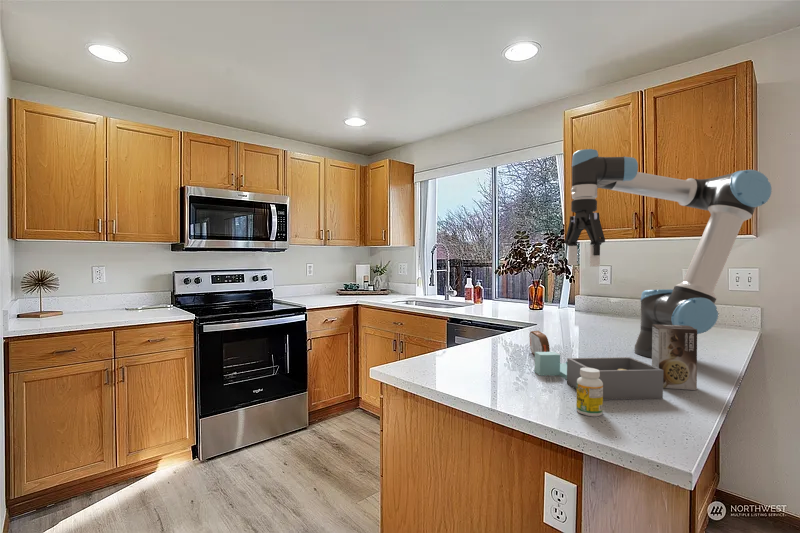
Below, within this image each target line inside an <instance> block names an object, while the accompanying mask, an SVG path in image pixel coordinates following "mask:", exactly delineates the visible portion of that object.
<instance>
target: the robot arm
mask: <svg viewBox="0 0 800 533" xmlns="http://www.w3.org/2000/svg"><path fill="white" fill-rule="evenodd" d="M638 170H639V162H638V160H637V159H636V158H635V157H632V156H631V157H630V156H599V152H598V149H597V150H596V149H592V148H585V149H579V150H576V151H574V153H573V154H572V158H571V189H570V192H571V199H572V201H571V205H570V206H571V207H570V208H571V209H570V211H571V213H575V215H571V216H569V224H568V228H567V232H566V235H565V236H566V237H565V239H564V244H565V245H567V247H568V249H567V250H568V254H567V255H568V257H567V258H568V260H567V264H568V266H578V243H577V242H578V241H579V238H580V236H581V234H582V232H583V230H585V231H586V234H587V236H588V238H589V240H590V244H589V267H600V265H601V262H600V261H601V259H600V258H601V257H600V256H601V245H602V244H604V243H605V242H606V238H605V234H604V231H603V230H604V229H603V227H602V223H601V219H600V218H601V217H600V216H601V215H600V212H596V211H598V200H597V198H598V189H604V190H610V191H616V192H621V193H626V194H627V193H628V194H630V195H631V194H632V195H638V196H644V197H649V198H655V199H660V200H666V201H671V202H675V203H676V202H677V203H678V205H679V206H682V207H687V208H693V209H698V210H703V211H708V212H709V214H710V217H709V218H708V221H707V223H706V225H705V228H704V230H703V233H702V236H701V237H700V240H699V242H698V245H697V246H696V249H695V252H694V253H693V256H692V259H691V261H690V264H689V265H688V268H687V270H686V273H685V275H684V277H683V279H682V281H681V282H679V283H677V284H675V285H674V287H673V288H669V289H664V288H663V289H660V288H659V289H645V290H643V291H642V292H641V296H640V330H639V334H638V336H637V339H636V342H635V344H634V350H633V351H634V353H635V354H637V355H640V356H643V357H647V358H652V324H657V325H685V326H691V327H693V328H694V329H697V335H699V334H703V333H706V332H709V330H711V329H712V328H713V327H715V325H716V323H717V321H718V318H719V311H718V310H717V309H718V307H717V305H716V304H715V303H716V301H717V297H716V295H715V293H714V291H715V288H716V286H717V283H718V281H719V279H720V277H721V274H722V272H723V269H724V268H725V266H726V262H727V260H728V259H729V256H730V253H731V251H732V248H733V247H734V244H735V241H736V240H737V237H738V235H739V232H740V229H741V228H742V225H743V224H744V222H746V221H747V220H750V219H752V217H753V214H754V212H755V210H756V208H758V207H760V206H763V205H764V204H766V203H767V202H768V201H769V200H770V198H771V195H772V192H773V191H772V184H771V182H770V181H769V178H768V176H766V174H764V173H763V172H761V171H758V170H755V169H746V170H744V169H743V170H737V171H735V172H732V173H728V174H724V175H719V176H714V177H710V178H703V179H701V178H699V179H698V178H693V177H690V178H689V177H688V178H687V179H679V178H674V177H669V176H662V175H658V174H657V175H656V174H652V173H646V172H640V171H638Z"/></svg>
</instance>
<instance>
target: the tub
mask: <svg viewBox="0 0 800 533" xmlns="http://www.w3.org/2000/svg"><path fill="white" fill-rule="evenodd" d="M566 360H567V361H566V362H567V379H566V384H567V385H568V386H569V387H571V388H573V389H574V390H576V391H577V379H578V378H579V377H581V375H580V368H594V369H598V370H599V371H600V377H599V378H598V379H600V380H601V381H602V382H603V401H609V400H610V401H611V400H616V401H618V400H652V399H653V400H655V399H656V400H657V399H660V400H661V399H664V388H663V370H662V369H659V368H657V367H654V366H652V364H648V363H646V362H644V361H641V360H638V359H636V358H633V357H630V356H629V357H627V356H626V357H624V356H623V357H622V356H621V357H618V356H617V357H614V356H613V357H568V358H566Z"/></svg>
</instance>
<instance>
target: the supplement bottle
mask: <svg viewBox="0 0 800 533" xmlns="http://www.w3.org/2000/svg"><path fill="white" fill-rule="evenodd" d="M580 375H581V377H579V378H578V379H577V390H576V402H575V403H576V406H575V407H576V411H577V413H579V414H580V415H583V416H587V417H600V416H602V415H603V412H604V409H603V406H604V403H603V402H604V400H603V382H602V381H601V380H600V379H598V378H599V377H600V371H599V370H598V369H594V368H580Z"/></svg>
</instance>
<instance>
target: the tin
mask: <svg viewBox="0 0 800 533" xmlns="http://www.w3.org/2000/svg"><path fill="white" fill-rule="evenodd" d="M528 336H529V337H528V338H529V350H530V351H531V353H532V355H534V356H535V352H551V350H550V342H549V339H548V337H547V335H546V334H544V333H543V332H541V331H540V330H532V331H530V332H529V335H528Z"/></svg>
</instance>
